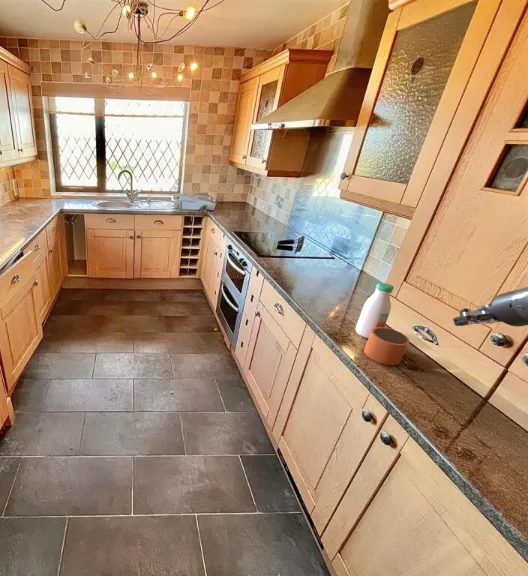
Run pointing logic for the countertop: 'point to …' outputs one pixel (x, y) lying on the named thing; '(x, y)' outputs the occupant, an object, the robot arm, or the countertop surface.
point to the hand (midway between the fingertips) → (456, 322)
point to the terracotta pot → (386, 345)
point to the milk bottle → (375, 310)
